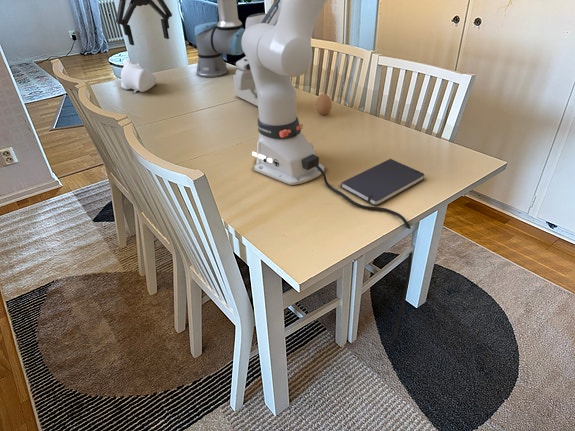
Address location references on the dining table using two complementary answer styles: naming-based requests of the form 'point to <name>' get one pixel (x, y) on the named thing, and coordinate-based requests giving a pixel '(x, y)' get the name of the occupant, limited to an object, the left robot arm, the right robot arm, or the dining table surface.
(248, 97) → the bar
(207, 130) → the dining table surface
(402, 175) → the notebook
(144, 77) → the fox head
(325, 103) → the egg
